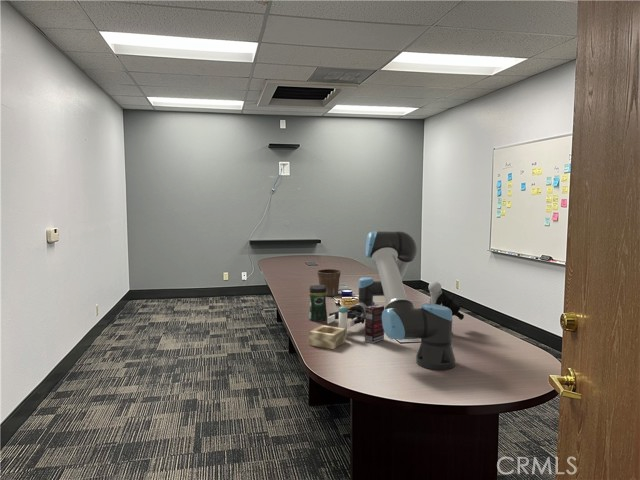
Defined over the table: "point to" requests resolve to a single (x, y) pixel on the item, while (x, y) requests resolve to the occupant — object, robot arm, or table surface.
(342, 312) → the marker
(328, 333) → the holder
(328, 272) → the plant pot
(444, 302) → the sculpture
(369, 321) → the supplement box
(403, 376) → the table surface
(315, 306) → the coffee jar
